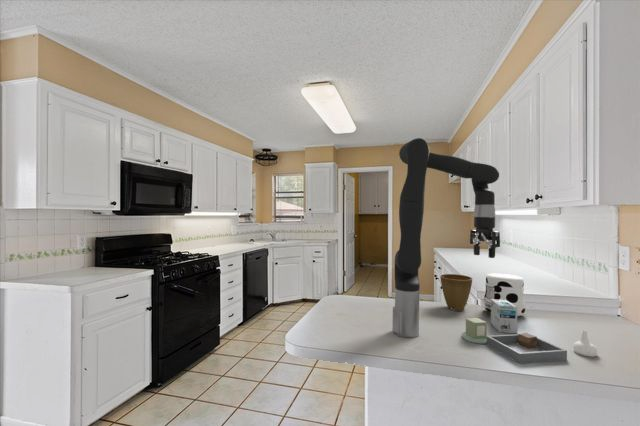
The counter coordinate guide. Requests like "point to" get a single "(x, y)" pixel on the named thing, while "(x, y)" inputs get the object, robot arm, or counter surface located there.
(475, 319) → the olive box
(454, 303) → the plant pot
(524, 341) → the walnut block
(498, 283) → the milk container
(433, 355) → the counter surface
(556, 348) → the bin
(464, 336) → the saucer
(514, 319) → the light bulb box
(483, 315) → the counter surface
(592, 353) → the garlic bulb
